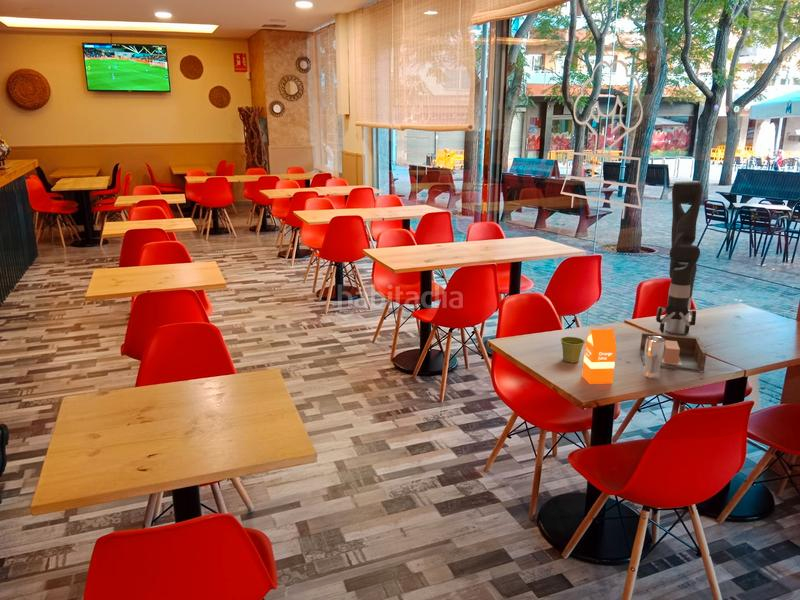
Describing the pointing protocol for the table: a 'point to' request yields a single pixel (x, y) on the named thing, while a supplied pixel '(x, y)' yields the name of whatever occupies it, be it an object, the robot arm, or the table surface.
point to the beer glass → (653, 356)
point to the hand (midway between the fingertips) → (673, 333)
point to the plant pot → (571, 348)
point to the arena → (681, 352)
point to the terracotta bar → (671, 352)
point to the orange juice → (599, 356)
